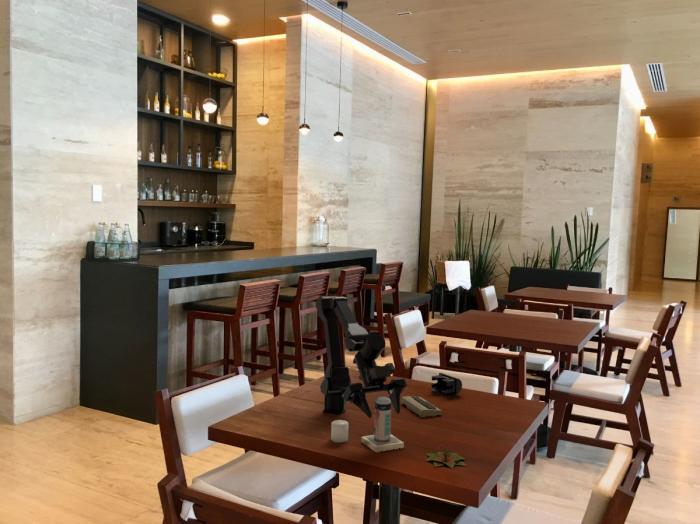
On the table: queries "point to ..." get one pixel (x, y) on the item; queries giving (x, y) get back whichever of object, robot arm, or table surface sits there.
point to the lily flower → (446, 455)
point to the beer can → (382, 418)
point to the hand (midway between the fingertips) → (385, 415)
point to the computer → (420, 406)
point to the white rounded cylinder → (339, 431)
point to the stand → (382, 443)
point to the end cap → (446, 385)
